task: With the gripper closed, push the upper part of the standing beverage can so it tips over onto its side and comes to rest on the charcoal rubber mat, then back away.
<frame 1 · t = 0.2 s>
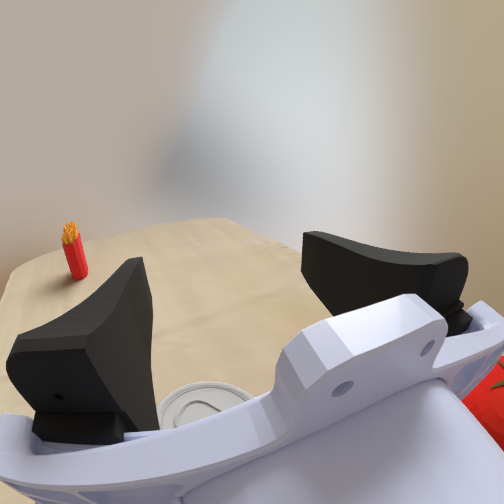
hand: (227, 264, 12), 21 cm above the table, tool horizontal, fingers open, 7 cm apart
tomato: (462, 441, 18), on the table
french fries: (81, 274, 55), on the table
beverage can: (232, 493, 17), on the table
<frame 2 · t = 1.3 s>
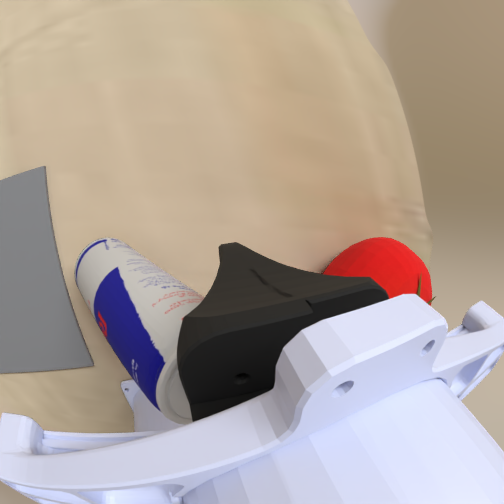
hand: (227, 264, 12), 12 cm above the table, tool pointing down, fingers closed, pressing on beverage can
tomato: (341, 284, 31), on the table
beverage can: (104, 268, 21), point 1 cm above the table, touching gripper
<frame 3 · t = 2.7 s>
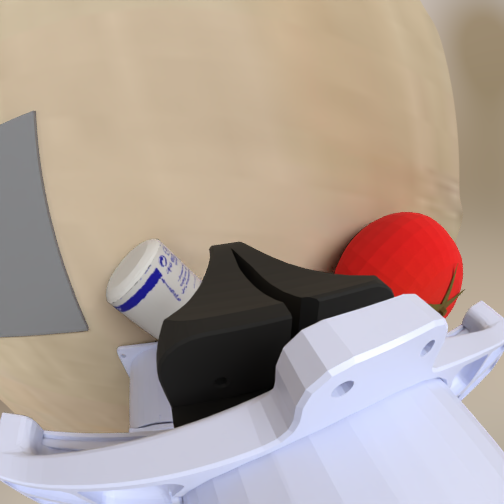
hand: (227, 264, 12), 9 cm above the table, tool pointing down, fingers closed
tomato: (365, 255, 27), on the table
beverage can: (124, 263, 17), point 3 cm above the table
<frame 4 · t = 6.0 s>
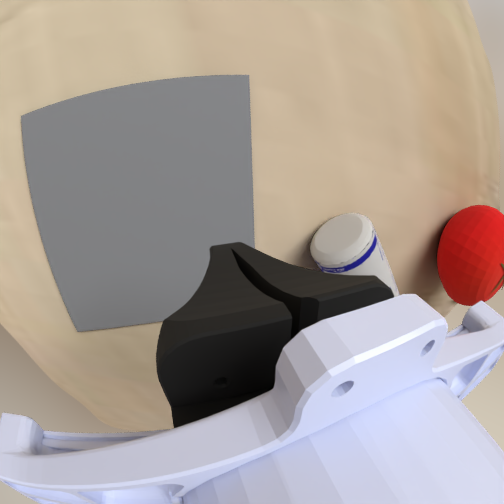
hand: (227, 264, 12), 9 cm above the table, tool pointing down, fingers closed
tomato: (448, 237, 31), on the table
beverage can: (337, 230, 21), point 3 cm above the table
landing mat: (139, 215, 19), on the table
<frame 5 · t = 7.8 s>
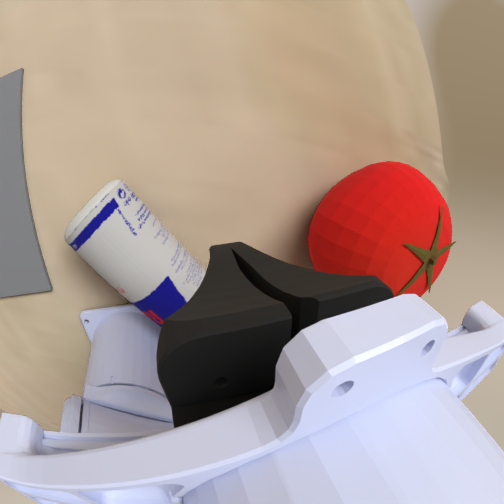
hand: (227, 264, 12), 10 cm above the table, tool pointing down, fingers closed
tomato: (345, 218, 26), on the table
beverage can: (85, 201, 16), point 3 cm above the table
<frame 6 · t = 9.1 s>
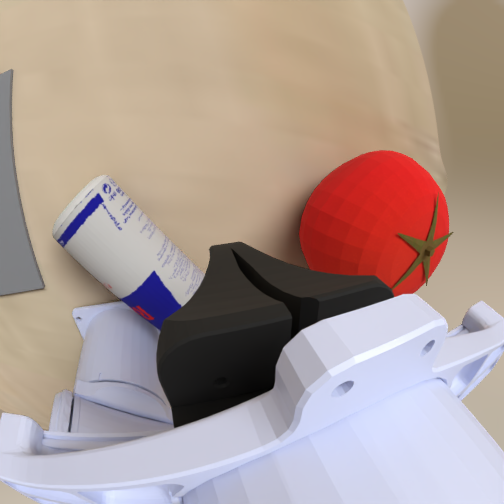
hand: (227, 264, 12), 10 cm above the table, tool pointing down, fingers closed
tomato: (339, 210, 26), on the table
beverage can: (73, 198, 15), point 3 cm above the table
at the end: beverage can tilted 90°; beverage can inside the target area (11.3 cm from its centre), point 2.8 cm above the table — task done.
